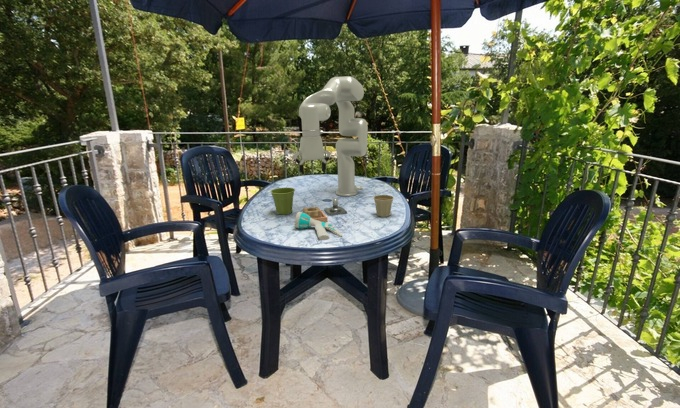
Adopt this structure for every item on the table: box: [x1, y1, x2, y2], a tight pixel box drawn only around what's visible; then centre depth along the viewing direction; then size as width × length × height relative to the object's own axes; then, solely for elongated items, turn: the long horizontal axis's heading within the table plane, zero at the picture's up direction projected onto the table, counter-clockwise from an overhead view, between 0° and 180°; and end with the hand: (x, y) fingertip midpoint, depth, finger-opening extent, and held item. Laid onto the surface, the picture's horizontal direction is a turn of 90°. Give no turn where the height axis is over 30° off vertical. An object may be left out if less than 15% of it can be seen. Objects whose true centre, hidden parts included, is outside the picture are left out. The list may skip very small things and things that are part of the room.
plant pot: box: [270, 187, 296, 216], centre depth 168 cm, size 12×12×11 cm
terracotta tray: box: [296, 209, 328, 223], centre depth 159 cm, size 12×12×2 cm
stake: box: [323, 198, 348, 216], centre depth 169 cm, size 9×9×6 cm
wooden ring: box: [302, 206, 322, 218], centre depth 159 cm, size 7×7×4 cm
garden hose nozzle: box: [293, 211, 343, 241], centre depth 145 cm, size 7×18×20 cm
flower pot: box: [373, 194, 395, 218], centre depth 162 cm, size 9×9×9 cm
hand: (312, 172), depth 157 cm, fingers open, 9 cm apart
